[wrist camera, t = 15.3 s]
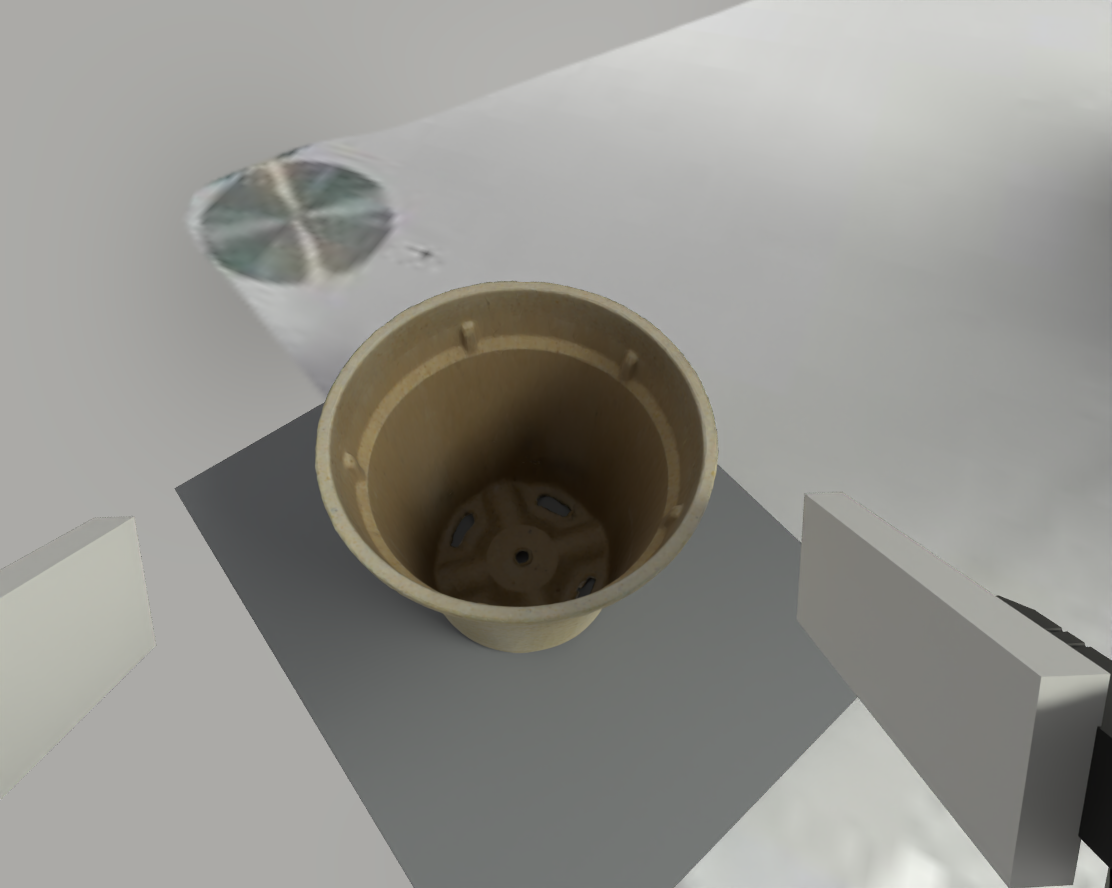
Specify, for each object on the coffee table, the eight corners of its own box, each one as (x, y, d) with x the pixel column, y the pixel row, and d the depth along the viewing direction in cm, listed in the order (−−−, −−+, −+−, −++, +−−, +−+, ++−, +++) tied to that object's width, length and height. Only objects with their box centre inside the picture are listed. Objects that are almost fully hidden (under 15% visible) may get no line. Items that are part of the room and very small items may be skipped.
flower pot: (660, 452, 26) (706, 287, 19) (668, 717, 21) (735, 633, 14) (409, 438, 26) (359, 269, 19) (360, 699, 21) (266, 608, 14)
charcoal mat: (897, 650, 23) (908, 644, 23) (514, 1047, 18) (513, 1053, 17) (528, 298, 31) (527, 285, 31) (184, 498, 26) (174, 488, 25)
